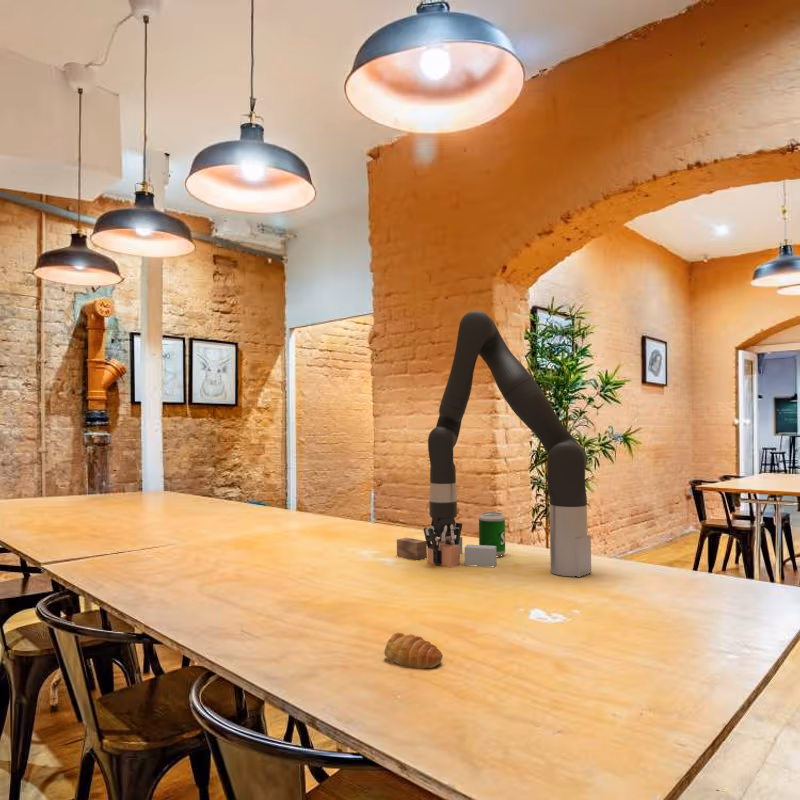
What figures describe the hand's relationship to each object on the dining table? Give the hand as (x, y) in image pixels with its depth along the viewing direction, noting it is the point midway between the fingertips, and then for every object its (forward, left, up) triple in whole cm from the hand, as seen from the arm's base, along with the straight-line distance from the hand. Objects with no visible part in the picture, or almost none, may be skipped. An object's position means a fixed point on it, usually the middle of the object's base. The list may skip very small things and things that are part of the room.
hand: (443, 562), depth 172 cm
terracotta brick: (0, 0, 0) cm, 0 cm away
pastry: (-42, +56, -1) cm, 70 cm away
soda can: (-3, -18, -1) cm, 18 cm away
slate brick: (+7, -10, 0) cm, 12 cm away
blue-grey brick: (-8, -6, 0) cm, 10 cm away
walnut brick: (+12, 0, 0) cm, 12 cm away
